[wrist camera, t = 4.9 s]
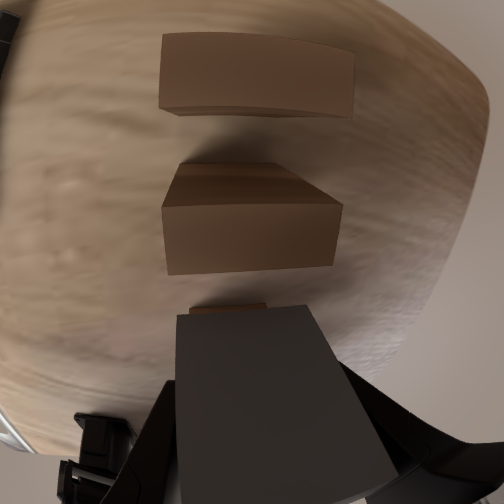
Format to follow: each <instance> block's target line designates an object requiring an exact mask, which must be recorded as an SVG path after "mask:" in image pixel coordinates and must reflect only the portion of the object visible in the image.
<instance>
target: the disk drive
mask: <svg viewBox="0 0 504 504" xmlns="http://www.w3.org/2000/svg"><path fill="white" fill-rule="evenodd" d="M20 18H21V17H19V16H17V15H15V14H13V13H11V12H8V11H5V10H0V78H1V74H2V70H3V67H4V63H5V61H6V58H7V56H8V52H9V49H10V46H11V42H12V39H13V36H14V34H15V31H16V29H17V26H18V23H19V21H20Z"/></svg>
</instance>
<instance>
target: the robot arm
mask: <svg viewBox="0 0 504 504" xmlns="http://www.w3.org/2000/svg"><path fill="white" fill-rule="evenodd" d="M338 362H339V364H340V366H341V367H342V369H343V371H344V373H345V375H346V376H347V378H348V380H349V382H350V384H351V386H352V387H353V389H354V391H355V393H356V395H357V397H358V398H359V400H360V402H361V404H362V406H363V408H364V410H365V411H366V413H367V415H368V417H369V419H370V421H371V423H372V425H373V427H374V428H375V430H376V432H377V434H378V436H379V438H380V440H381V442H382V444H383V446H384V448H385V449H386V451H387V453H388V455H389V457H390V459H391V461H392V463H393V465H394V467H395V469H396V471H397V473H398V475H399V476H398V477H396V478H395V479H394V480H392V481H391V482H389V483H388V484H386V485H385V486H383V487H382V488H380V489H379V490H377V491H375V492H374V493H372V494H371V495H369V496H366V497H365V500H366V502H367V504H504V442H494V443H476V444H474V443H466V442H463V441H460V440H458V439H456V438H454V437H452V436H450V435H448V434H446V433H444V432H442V431H440V430H438V429H436V428H435V427H433V426H431V425H429V424H427V423H426V422H424V421H423V420H421V419H420V418H418V417H417V416H415V415H414V414H412V413H411V412H410V413H409V411H408V410H406V409H405V408H403V407H402V406H401V405H399V404H398V403H396V402H395V401H393V400H392V399H391V398H389V397H388V396H386V395H385V394H384V393H382V392H381V391H379V390H378V389H377V388H375V387H374V386H373V385H371V384H370V383H368V382H367V381H366V380H364V379H363V378H362V377H360V376H359V375H357V374H356V373H355V372H353V371H352V370H351V369H349V368H348V367H347V366H345V365H344V364H343V363H341V362H340V361H338ZM74 420H75V421H76V422H77V423H78V425H79V426H80V427H81V428H82V429H83V434H82V440H81V447H80V457H79V464H78V463H76V462H73V461H72V460H70V459H68V461H63V460H61V461H60V468H59V477H58V487H57V497H58V498H59V500H60V501H61V504H182V502H181V493H180V482H179V470H178V456H177V437H176V406H175V380H167V381H166V383H165V385H164V387H163V389H162V390H161V392H160V394H159V396H158V398H157V400H156V402H155V404H154V406H153V408H152V410H151V412H150V414H149V416H148V418H147V420H146V421H145V423H144V425H143V427H142V429H141V431H140V433H139V435H138V437H137V435H136V434H135V432H134V431H133V429H132V428H131V426H130V425H129V423H128V422H127V421H126V420H122V419H110V418H100V417H91V416H83V415H77V414H75V415H74ZM72 475H73V476H76V477H78V479H75V478H72Z"/></svg>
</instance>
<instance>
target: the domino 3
mask: <svg viewBox="0 0 504 504" xmlns="http://www.w3.org/2000/svg"><path fill="white" fill-rule="evenodd" d="M175 406H176V437H177V456H178V470H179V482H180V493H181V502H182V504H349V503H351V502H354V501H357V500H359V499H361V498H364V497H366V496H369V495H371V494H372V493H374V492H375V491H377V490H379V489H380V488H382V487H383V486H385V485H386V484H388V483H389V482H391V481H392V480H394V479H395V478H396V477H398V476H399V475H398V473H397V471H396V469H395V467H394V465H393V463H392V461H391V459H390V457H389V455H388V453H387V451H386V449H385V448H384V446H383V444H382V442H381V440H380V438H379V436H378V434H377V432H376V430H375V428H374V427H373V425H372V423H371V421H370V419H369V417H368V415H367V413H366V411H365V410H364V408H363V406H362V404H361V402H360V400H359V398H358V397H357V395H356V393H355V391H354V389H353V387H352V386H351V384H350V382H349V380H348V378H347V376H346V375H345V373H344V371H343V369H342V367H341V366H340V364H339V362H338V360H337V358H336V356H335V355H334V353H333V351H332V349H331V347H330V346H329V344H328V342H327V340H326V339H325V337H324V335H323V333H322V331H321V330H320V328H319V326H318V324H317V323H316V321H315V319H314V317H313V316H312V314H311V312H310V310H309V308H308V307H307V305H299V306H290V307H280V308H269V309H258V310H246V311H233V312H219V313H203V314H183V315H177V324H176V358H175Z"/></svg>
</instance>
